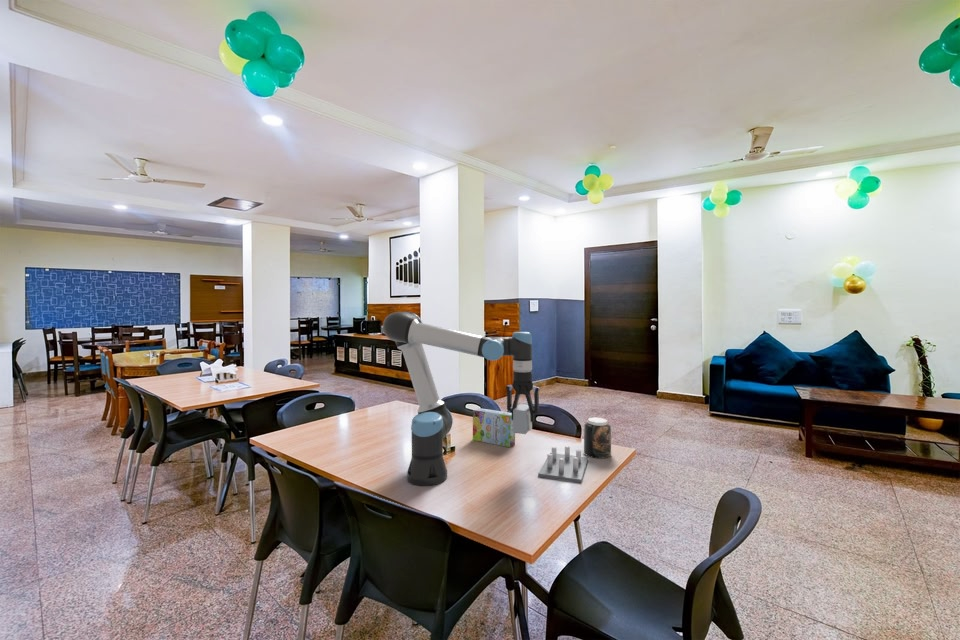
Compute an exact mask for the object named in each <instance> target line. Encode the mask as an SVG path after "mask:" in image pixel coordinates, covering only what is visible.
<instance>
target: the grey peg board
mask: <svg viewBox="0 0 960 640" xmlns="http://www.w3.org/2000/svg"><path fill="white" fill-rule="evenodd" d="M557 451H558V449H557V447H556V446H551V452H549V453H548V454H547V455H546V456H547V458H546V459H545V461H544V463H543V464H542V466H541V467H540V469H539V472H538V474H537V477H539V478H540V477H541V478H547V479H552V480H560V481H564V482H565V481H566V482H573V483H578V484H582V482H583V478H584V475H585V471H586V469H587V468H586V467H587V465H588V462H589V456H588V457H587V456H582V450H580V449H576V450H575V455H572V454H571V447H570V446H569V445H565V446H564V454H562V453H557ZM587 461H588V462H587Z"/></svg>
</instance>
